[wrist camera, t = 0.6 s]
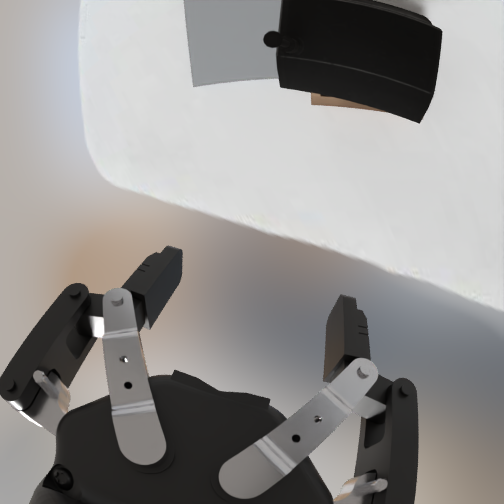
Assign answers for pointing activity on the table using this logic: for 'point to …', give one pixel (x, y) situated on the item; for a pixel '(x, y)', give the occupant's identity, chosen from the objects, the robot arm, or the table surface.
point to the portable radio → (358, 53)
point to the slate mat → (231, 40)
